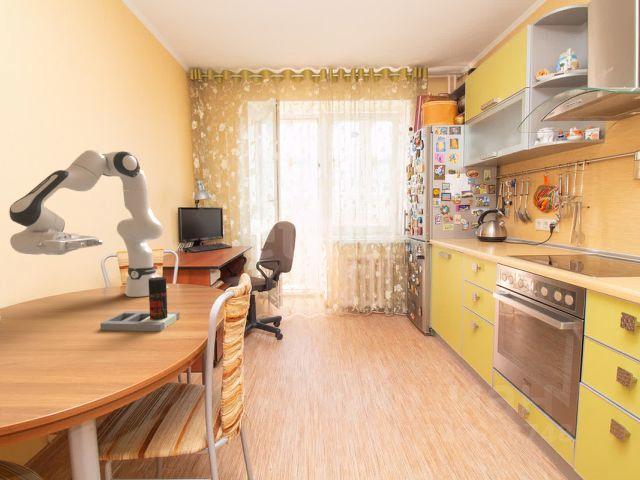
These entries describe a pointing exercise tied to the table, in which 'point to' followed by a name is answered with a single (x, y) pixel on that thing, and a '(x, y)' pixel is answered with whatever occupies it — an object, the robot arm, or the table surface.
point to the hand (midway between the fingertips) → (92, 243)
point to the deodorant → (158, 298)
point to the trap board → (138, 322)
